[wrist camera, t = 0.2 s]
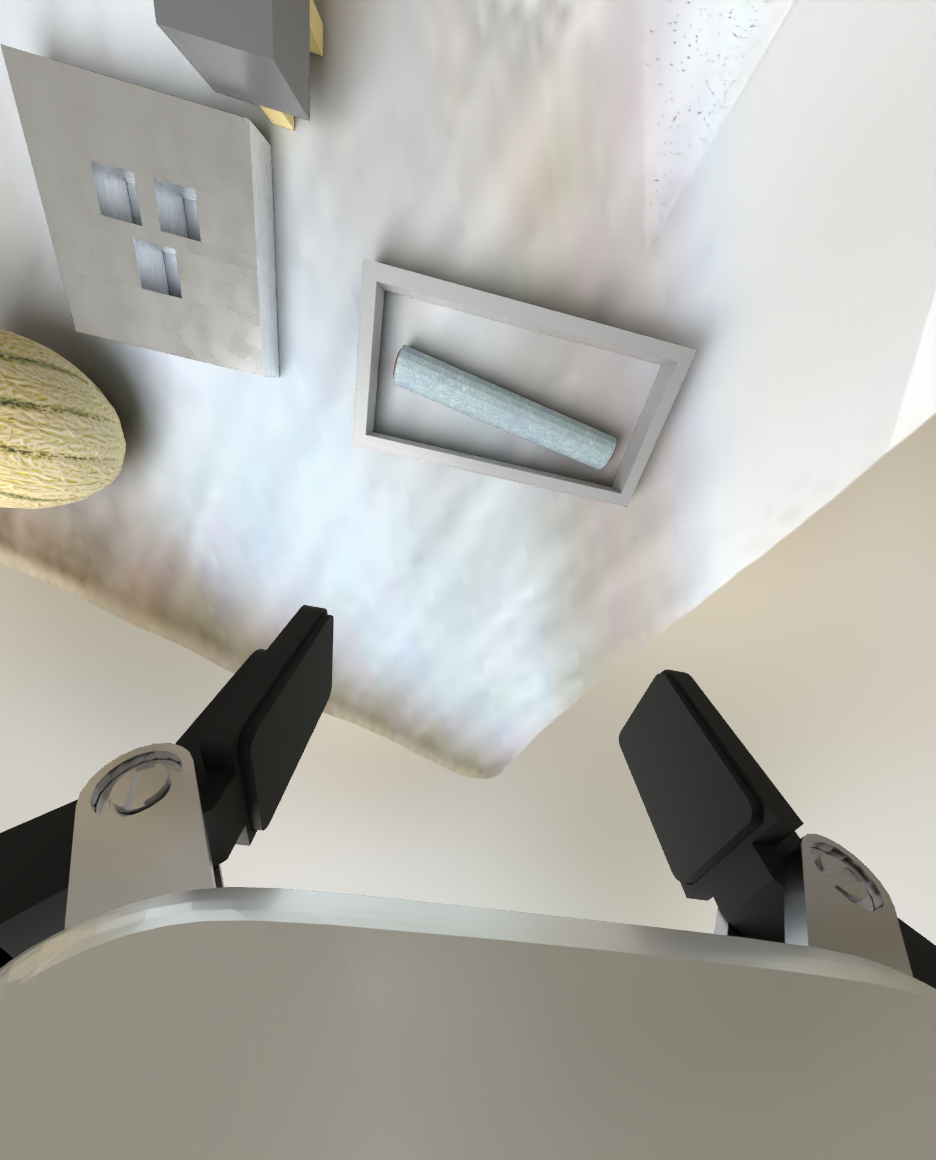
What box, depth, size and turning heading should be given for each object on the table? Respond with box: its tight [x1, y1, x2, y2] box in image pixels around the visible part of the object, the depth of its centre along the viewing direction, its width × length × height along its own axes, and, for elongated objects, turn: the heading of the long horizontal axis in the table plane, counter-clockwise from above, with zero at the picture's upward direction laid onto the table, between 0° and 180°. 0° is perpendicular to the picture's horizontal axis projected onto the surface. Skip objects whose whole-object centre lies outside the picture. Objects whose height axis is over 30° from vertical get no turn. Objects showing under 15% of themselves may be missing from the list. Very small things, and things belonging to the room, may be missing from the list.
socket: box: [1, 44, 279, 378], centre depth 29 cm, size 16×16×3 cm
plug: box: [154, 0, 323, 130], centre depth 22 cm, size 6×6×8 cm
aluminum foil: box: [393, 345, 616, 469], centre depth 34 cm, size 23×7×3 cm, turn 69°
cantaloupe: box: [0, 329, 126, 509], centre depth 30 cm, size 15×15×15 cm
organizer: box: [353, 258, 697, 507], centre depth 34 cm, size 14×29×3 cm, turn 78°
